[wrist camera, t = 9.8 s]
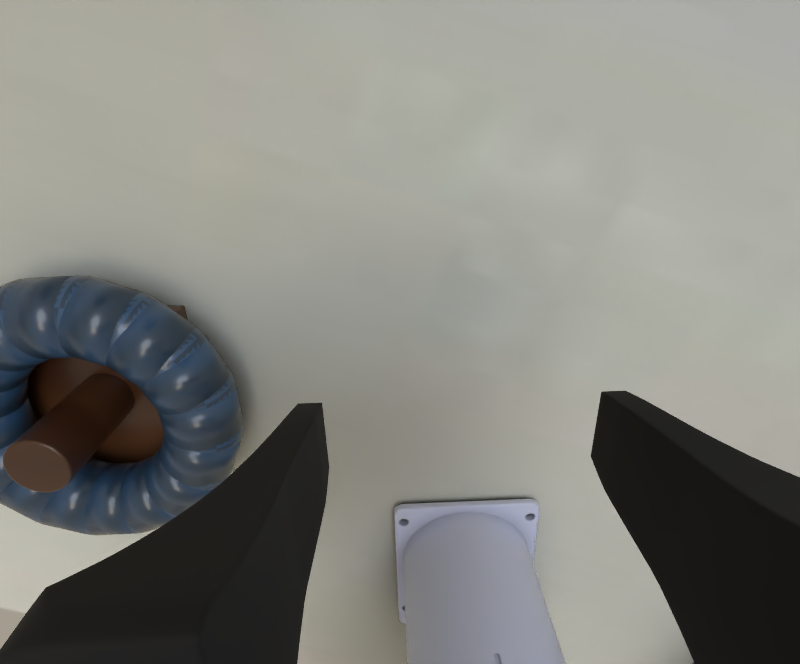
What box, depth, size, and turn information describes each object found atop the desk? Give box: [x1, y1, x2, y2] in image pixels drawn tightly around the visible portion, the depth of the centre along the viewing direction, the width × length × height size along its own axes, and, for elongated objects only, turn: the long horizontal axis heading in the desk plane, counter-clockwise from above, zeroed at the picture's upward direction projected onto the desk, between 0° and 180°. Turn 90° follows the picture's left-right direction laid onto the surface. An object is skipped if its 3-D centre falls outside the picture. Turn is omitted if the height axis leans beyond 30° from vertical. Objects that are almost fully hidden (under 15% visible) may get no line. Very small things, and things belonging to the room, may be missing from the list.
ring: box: [0, 276, 243, 535], centre depth 21 cm, size 12×12×3 cm
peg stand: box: [3, 305, 187, 492], centre depth 20 cm, size 8×8×6 cm
